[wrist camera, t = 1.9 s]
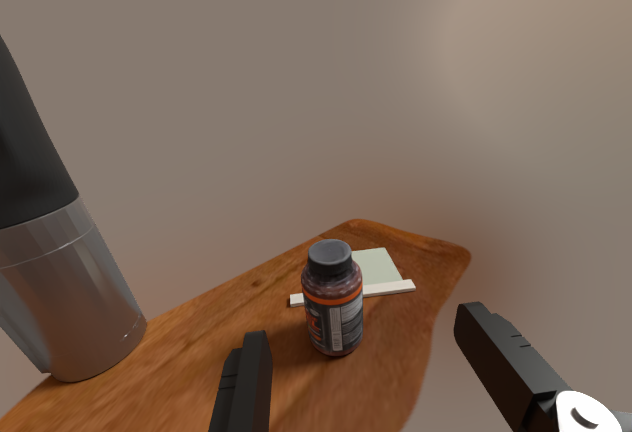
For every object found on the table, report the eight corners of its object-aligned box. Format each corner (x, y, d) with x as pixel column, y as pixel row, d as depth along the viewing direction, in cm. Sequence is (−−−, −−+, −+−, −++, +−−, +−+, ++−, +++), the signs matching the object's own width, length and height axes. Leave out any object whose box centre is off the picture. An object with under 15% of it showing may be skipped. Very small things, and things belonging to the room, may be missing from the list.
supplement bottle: (300, 327, 31) (286, 245, 26) (343, 306, 33) (339, 226, 28) (325, 370, 26) (315, 279, 21) (374, 342, 28) (376, 254, 23)
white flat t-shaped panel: (290, 306, 34) (290, 303, 34) (290, 261, 42) (290, 258, 42) (415, 290, 34) (415, 287, 34) (390, 248, 43) (390, 246, 43)
